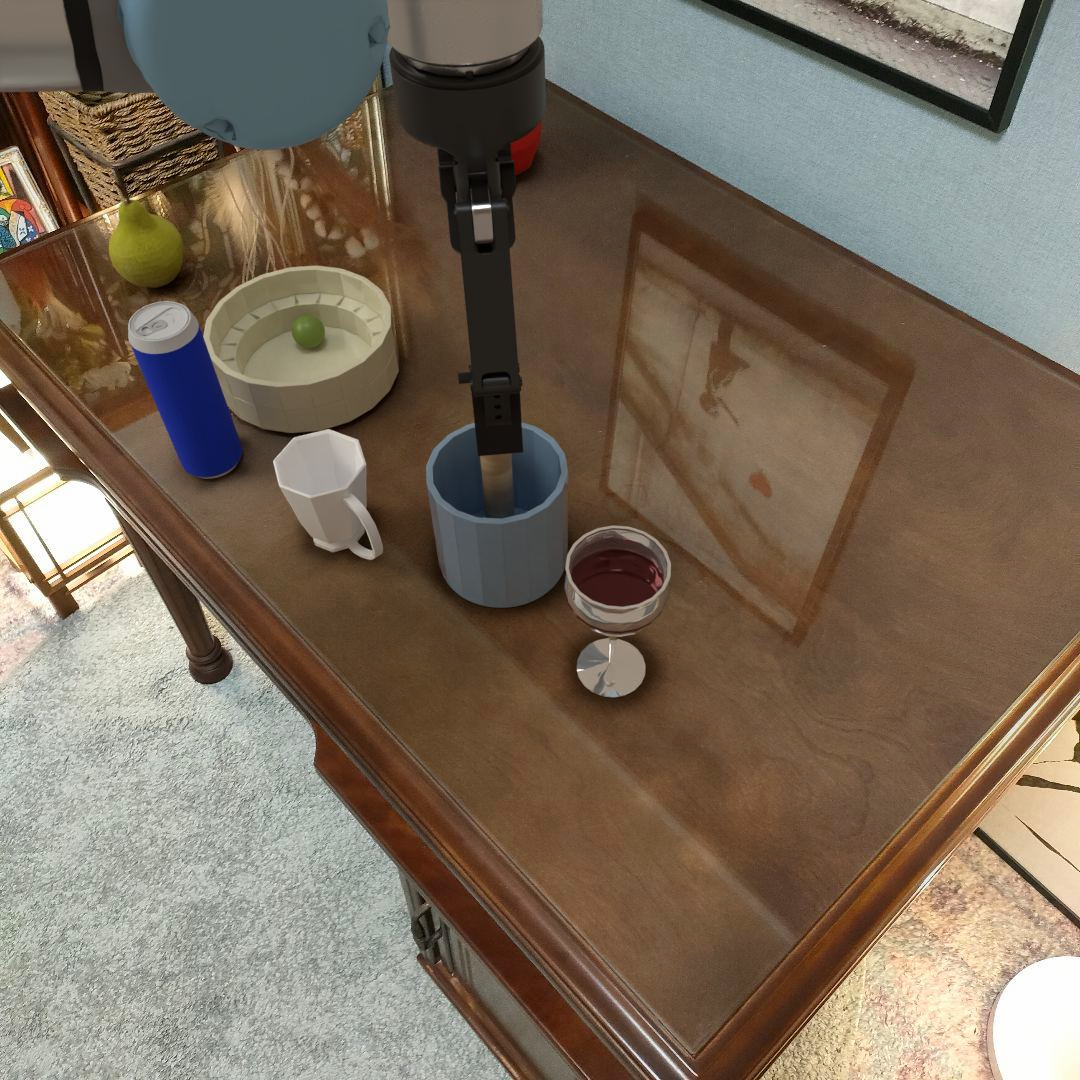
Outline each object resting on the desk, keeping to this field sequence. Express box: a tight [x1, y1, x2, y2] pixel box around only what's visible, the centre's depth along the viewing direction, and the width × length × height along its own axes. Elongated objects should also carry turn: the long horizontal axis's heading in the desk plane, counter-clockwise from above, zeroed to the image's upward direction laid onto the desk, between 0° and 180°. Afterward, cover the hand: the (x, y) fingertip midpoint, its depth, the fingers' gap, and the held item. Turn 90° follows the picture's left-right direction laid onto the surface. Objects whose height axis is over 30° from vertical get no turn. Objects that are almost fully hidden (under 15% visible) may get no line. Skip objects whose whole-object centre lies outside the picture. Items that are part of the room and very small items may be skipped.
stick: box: [480, 453, 515, 519], centre depth 72 cm, size 2×2×20 cm
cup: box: [272, 428, 384, 561], centre depth 78 cm, size 7×10×8 cm
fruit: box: [108, 181, 185, 289], centre depth 98 cm, size 7×7×12 cm
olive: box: [292, 315, 325, 348], centre depth 94 cm, size 3×3×3 cm
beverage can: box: [127, 300, 243, 480], centre depth 81 cm, size 5×5×15 cm
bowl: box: [203, 265, 400, 434], centre depth 91 cm, size 16×16×6 cm
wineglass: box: [564, 525, 672, 698], centre depth 69 cm, size 7×7×12 cm
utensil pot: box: [425, 421, 569, 609], centre depth 76 cm, size 10×10×10 cm
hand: (492, 373), depth 65 cm, fingers open, 13 cm apart
